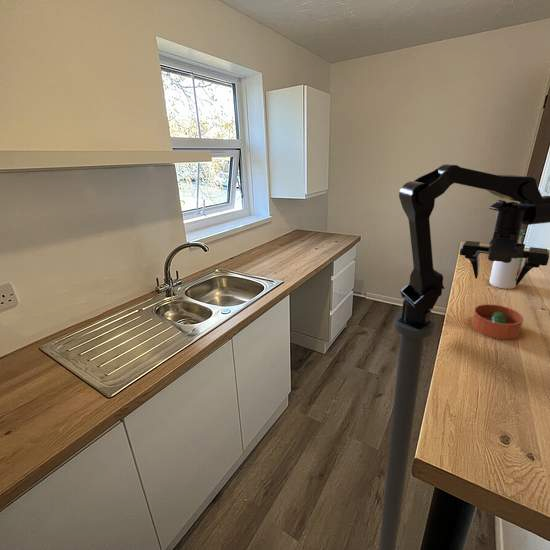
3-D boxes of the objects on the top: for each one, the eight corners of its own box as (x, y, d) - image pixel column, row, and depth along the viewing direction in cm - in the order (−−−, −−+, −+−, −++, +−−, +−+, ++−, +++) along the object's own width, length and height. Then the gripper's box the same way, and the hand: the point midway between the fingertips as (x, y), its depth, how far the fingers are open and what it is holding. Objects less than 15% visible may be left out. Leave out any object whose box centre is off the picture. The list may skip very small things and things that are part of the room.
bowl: (464, 327, 84) (467, 313, 83) (481, 313, 90) (483, 300, 88) (510, 344, 76) (514, 329, 74) (525, 328, 82) (529, 313, 80)
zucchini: (499, 335, 80) (509, 327, 78) (485, 327, 81) (495, 318, 79) (501, 322, 85) (510, 313, 83) (488, 314, 87) (497, 306, 84)
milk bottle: (508, 291, 101) (523, 234, 94) (484, 284, 108) (496, 229, 100) (520, 285, 105) (535, 229, 97) (496, 278, 111) (508, 225, 103)
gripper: (460, 230, 78) (451, 285, 84) (556, 238, 66) (538, 301, 72) (468, 221, 85) (459, 271, 91) (555, 226, 74) (539, 284, 80)
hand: (495, 281), depth 84 cm, fingers open, 9 cm apart
